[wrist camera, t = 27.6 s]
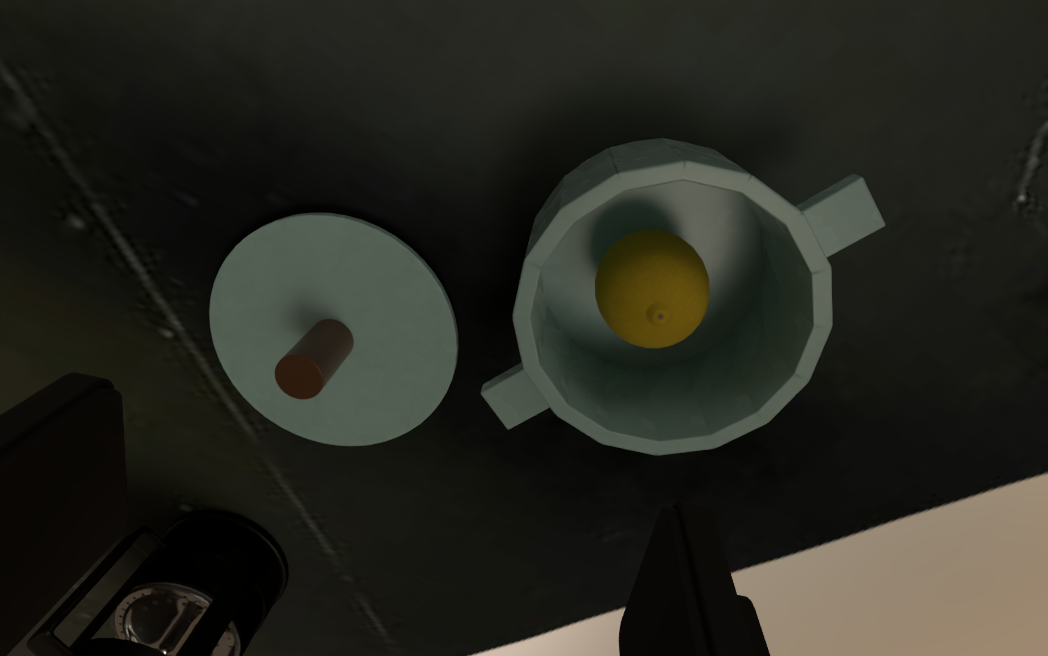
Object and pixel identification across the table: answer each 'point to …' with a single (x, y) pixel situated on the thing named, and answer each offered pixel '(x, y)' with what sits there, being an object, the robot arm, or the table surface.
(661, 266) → the lemon
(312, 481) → the table surface
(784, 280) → the pot
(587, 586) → the table surface
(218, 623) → the french press
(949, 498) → the table surface
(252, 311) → the lid
